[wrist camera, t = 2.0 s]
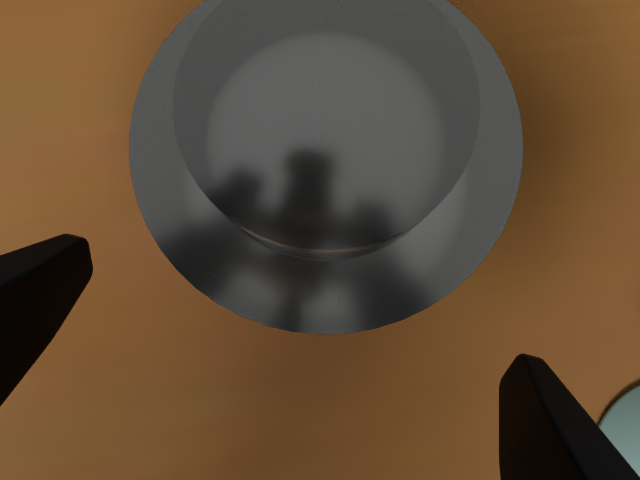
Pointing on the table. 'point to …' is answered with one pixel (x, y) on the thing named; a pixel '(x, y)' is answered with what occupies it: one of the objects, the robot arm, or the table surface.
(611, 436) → the pale green disc
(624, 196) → the table surface
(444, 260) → the canister
